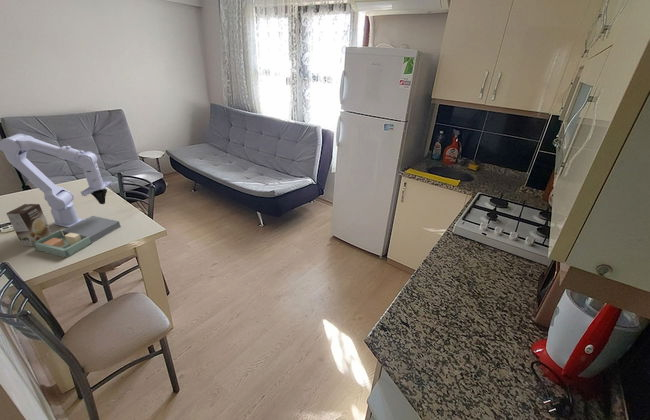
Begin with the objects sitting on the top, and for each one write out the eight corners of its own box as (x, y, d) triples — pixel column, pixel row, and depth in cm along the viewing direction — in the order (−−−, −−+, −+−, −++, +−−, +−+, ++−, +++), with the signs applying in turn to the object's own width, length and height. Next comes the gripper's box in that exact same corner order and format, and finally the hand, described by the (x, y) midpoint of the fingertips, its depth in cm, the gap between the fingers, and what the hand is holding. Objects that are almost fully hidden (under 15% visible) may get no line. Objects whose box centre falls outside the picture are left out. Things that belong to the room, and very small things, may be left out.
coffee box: (37, 246, 127) (22, 213, 119) (21, 246, 126) (5, 213, 119) (53, 234, 135) (39, 203, 127) (38, 234, 134) (23, 203, 127)
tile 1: (53, 237, 128) (55, 242, 129) (41, 243, 124) (43, 248, 125) (62, 239, 127) (64, 244, 128) (50, 245, 123) (53, 250, 124)
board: (64, 236, 134) (61, 230, 133) (94, 220, 147) (92, 215, 146) (92, 242, 131) (90, 237, 130) (120, 226, 144) (119, 221, 143)
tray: (35, 249, 125) (32, 243, 123) (62, 236, 134) (59, 230, 132) (67, 257, 121) (64, 250, 120) (91, 243, 131) (89, 237, 129)
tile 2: (74, 242, 130) (68, 245, 128) (70, 232, 128) (64, 235, 126) (83, 244, 129) (77, 247, 127) (79, 234, 127) (73, 237, 125)
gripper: (86, 184, 131) (95, 211, 138) (114, 174, 144) (121, 198, 150) (73, 182, 133) (83, 208, 139) (102, 172, 145) (110, 196, 151)
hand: (102, 203), depth 145 cm, fingers closed
